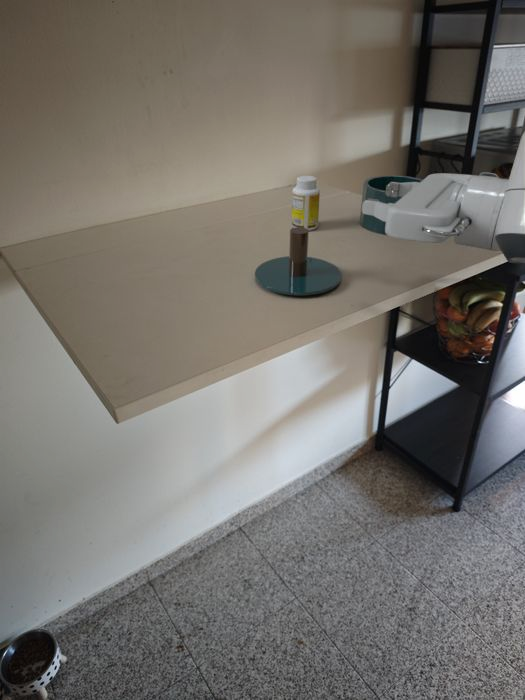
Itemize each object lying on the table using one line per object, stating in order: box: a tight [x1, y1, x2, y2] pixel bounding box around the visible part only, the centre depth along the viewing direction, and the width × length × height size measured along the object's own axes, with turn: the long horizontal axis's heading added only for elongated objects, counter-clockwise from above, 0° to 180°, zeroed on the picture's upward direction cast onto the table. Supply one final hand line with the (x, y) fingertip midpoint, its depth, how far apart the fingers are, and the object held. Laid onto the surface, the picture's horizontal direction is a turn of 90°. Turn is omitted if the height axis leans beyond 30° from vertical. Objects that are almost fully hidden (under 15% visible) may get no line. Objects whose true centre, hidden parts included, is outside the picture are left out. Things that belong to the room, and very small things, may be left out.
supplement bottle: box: [291, 175, 321, 232], centre depth 103 cm, size 6×6×10 cm
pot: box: [359, 174, 424, 236], centre depth 105 cm, size 14×14×8 cm
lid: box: [254, 227, 342, 296], centre depth 83 cm, size 15×15×9 cm
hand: (376, 196), depth 71 cm, fingers open, 8 cm apart
